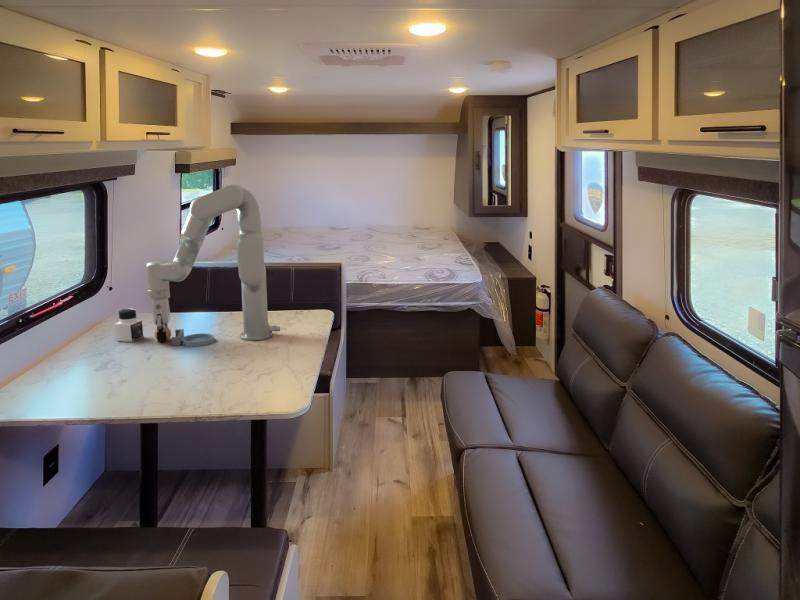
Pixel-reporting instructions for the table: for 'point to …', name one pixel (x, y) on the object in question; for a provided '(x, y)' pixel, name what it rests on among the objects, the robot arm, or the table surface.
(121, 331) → the medicine bottle
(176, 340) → the gate arch
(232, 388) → the table surface
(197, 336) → the dish
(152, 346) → the table surface
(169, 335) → the ball
